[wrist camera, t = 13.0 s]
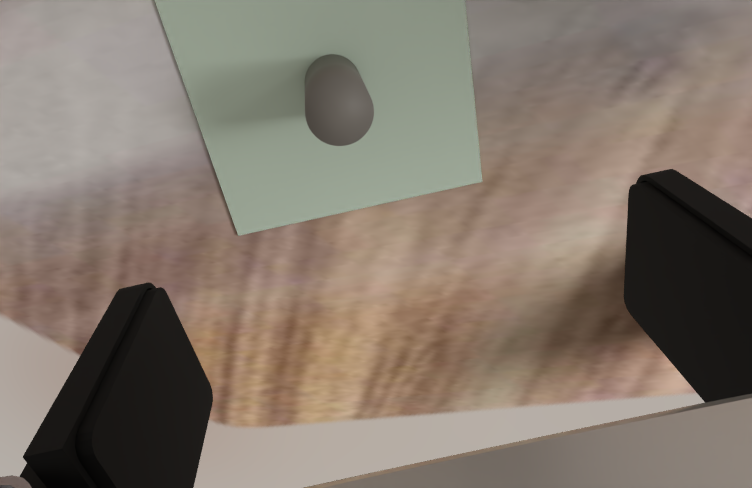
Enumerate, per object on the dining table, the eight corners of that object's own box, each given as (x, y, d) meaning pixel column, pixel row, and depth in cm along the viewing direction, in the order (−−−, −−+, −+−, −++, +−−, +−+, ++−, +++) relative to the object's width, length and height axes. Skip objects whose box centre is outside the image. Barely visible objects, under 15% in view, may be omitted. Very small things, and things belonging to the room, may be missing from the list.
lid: (450, -110, 26) (494, -129, 20) (478, 177, 33) (517, 225, 27) (143, -44, 26) (94, -44, 20) (239, 229, 33) (225, 290, 27)
